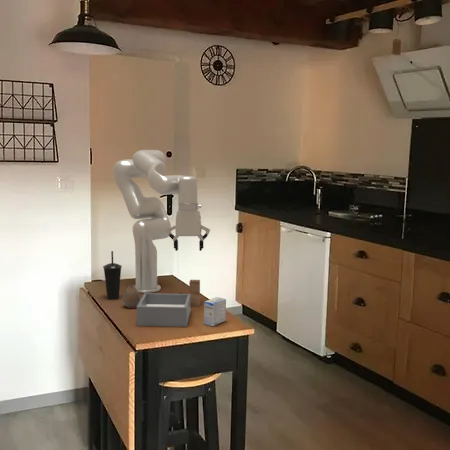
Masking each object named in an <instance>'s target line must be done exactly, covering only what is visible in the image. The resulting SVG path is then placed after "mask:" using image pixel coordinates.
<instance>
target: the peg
mask: <svg viewBox="0 0 450 450" xmlns="http://www.w3.org/2000/svg"><path fill="white" fill-rule="evenodd" d="M188 283H189V287H188V288H189V291H188V292H189V293H188V294H191V307H200V305H201V279H190V280H189V282H188Z"/></svg>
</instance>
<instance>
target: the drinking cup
mask: <svg viewBox="0 0 450 450" xmlns="http://www.w3.org/2000/svg"><path fill="white" fill-rule="evenodd" d="M110 253H111V254H110V255H111V262H110V263H106V264H104V265H103V266H102V268H103V272H104V281H105V290H106V291H105V292H106V299H108V300H118V299H119V298H120V289H121V287H120V286H121V276H122V275H121V273H122V272H121V271H122V268H123V267H122V265H121V264H119V263H115V262H114V251H111V252H110Z"/></svg>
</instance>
